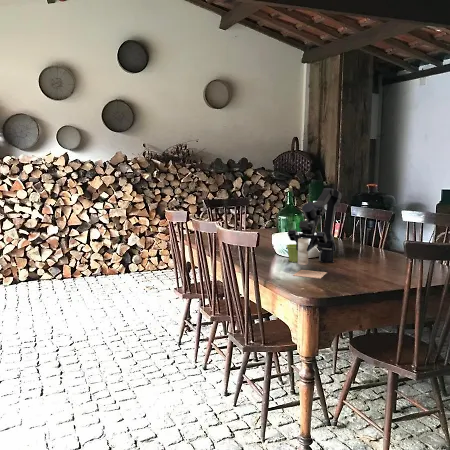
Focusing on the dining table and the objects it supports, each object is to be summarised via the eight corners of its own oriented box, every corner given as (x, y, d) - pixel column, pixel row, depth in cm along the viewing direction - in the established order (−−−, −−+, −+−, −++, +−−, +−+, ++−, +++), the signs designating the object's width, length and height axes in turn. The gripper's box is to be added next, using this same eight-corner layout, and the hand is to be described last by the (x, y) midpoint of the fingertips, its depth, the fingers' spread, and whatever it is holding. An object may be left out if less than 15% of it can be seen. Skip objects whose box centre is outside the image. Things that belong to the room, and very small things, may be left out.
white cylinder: (304, 262, 237) (304, 237, 235) (310, 264, 233) (310, 239, 231) (295, 263, 235) (296, 238, 233) (301, 265, 230) (301, 240, 229)
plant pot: (304, 263, 258) (304, 247, 257) (286, 263, 259) (286, 246, 258) (302, 259, 268) (303, 244, 266) (285, 259, 268) (285, 244, 267)
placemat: (300, 270, 241) (300, 269, 241) (326, 272, 236) (326, 272, 236) (293, 275, 229) (293, 275, 229) (320, 278, 224) (320, 277, 224)
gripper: (289, 213, 239) (279, 238, 231) (325, 215, 229) (316, 242, 221) (295, 227, 247) (286, 252, 239) (330, 230, 237) (322, 256, 229)
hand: (302, 250), depth 232 cm, fingers closed on white cylinder, 5 cm apart
